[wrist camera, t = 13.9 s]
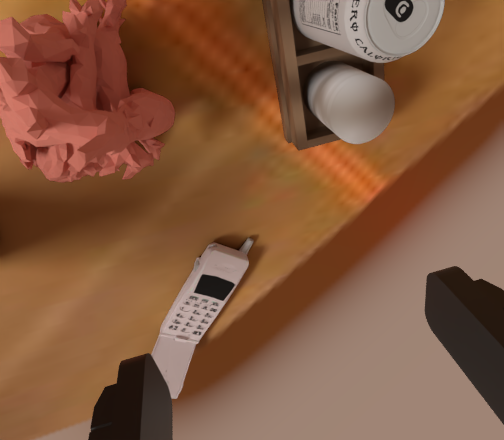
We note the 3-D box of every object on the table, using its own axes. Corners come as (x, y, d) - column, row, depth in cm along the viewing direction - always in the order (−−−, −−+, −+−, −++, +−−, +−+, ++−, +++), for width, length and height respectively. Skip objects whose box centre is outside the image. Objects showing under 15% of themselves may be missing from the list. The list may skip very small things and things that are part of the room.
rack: (371, 115, 43) (417, 145, 35) (284, 138, 42) (311, 173, 34) (360, -199, 29) (432, -268, 21) (234, -170, 29) (259, -230, 21)
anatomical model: (46, 179, 39) (-93, 280, 21) (-3, 12, 34) (-253, -50, 15) (189, 165, 40) (177, 249, 22) (167, 1, 35) (124, -70, 16)
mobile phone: (134, 394, 51) (221, 252, 41) (136, 358, 56) (215, 223, 46) (176, 401, 53) (267, 268, 44) (175, 365, 58) (257, 239, 49)
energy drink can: (321, 53, 37) (399, 87, 24) (273, 9, 34) (333, 23, 22) (364, -5, 35) (474, 0, 22) (318, -56, 32) (412, -83, 20)
